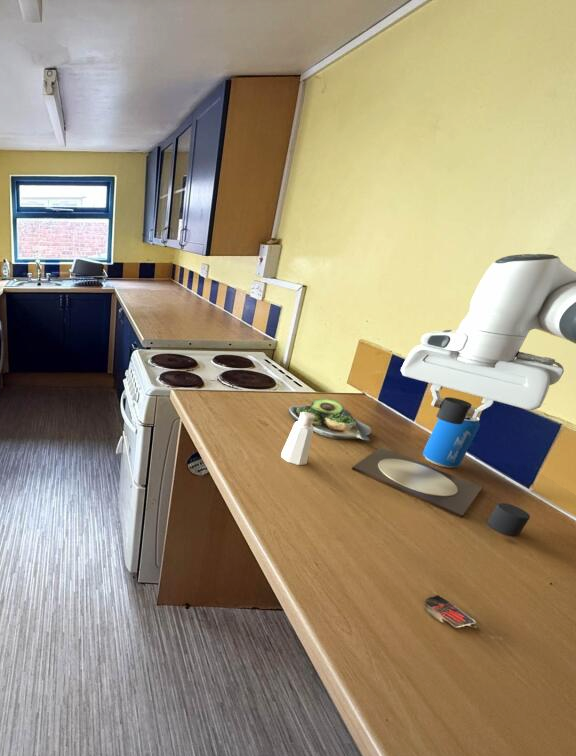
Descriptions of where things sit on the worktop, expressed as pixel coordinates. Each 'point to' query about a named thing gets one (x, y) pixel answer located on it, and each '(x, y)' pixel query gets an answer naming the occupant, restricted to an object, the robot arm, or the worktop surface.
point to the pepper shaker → (299, 440)
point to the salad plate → (332, 420)
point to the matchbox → (448, 612)
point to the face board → (419, 481)
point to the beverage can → (450, 442)
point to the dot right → (508, 519)
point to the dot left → (453, 410)
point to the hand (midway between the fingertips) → (452, 411)
